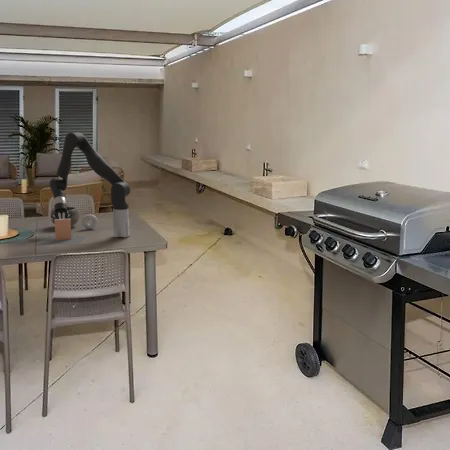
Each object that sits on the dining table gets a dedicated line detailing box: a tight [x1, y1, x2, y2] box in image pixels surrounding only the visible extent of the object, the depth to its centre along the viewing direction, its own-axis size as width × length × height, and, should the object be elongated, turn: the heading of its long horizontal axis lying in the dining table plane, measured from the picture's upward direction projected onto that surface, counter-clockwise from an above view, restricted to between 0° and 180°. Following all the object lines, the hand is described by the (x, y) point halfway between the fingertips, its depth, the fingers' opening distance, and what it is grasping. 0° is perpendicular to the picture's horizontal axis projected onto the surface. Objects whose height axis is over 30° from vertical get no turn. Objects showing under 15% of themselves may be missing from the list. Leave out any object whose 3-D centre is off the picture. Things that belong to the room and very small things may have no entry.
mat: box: [36, 234, 89, 246], centre depth 314 cm, size 24×24×1 cm
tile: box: [54, 219, 72, 240], centre depth 314 cm, size 2×9×12 cm, turn 110°
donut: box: [81, 213, 99, 230], centre depth 345 cm, size 10×3×10 cm, turn 103°
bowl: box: [50, 206, 80, 227], centre depth 352 cm, size 18×18×13 cm
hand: (62, 228), depth 318 cm, fingers closed
